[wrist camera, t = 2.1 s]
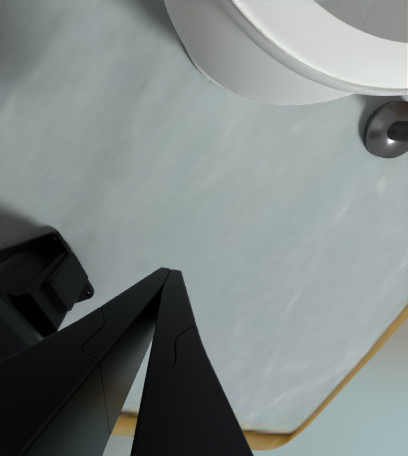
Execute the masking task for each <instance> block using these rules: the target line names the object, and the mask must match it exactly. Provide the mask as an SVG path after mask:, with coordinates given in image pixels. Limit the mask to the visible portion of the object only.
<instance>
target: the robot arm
mask: <svg viewBox="0 0 408 456" xmlns="http://www.w3.org/2000/svg"><path fill="white" fill-rule="evenodd" d="M52 236H53V237H55V238H56V240H53V239H52ZM86 291H88V292H89V294H88V293H86ZM93 294H94V289H93V287H92V285H91V284H90V282H89V281H88V276H87V274H86V273H85V271H84V269H83V268H82V266H81V264H80V263H79V261H78V259H77V258H76V256H75V254H74V253H72V252H71V251H70V249H69V248H68V246H67V244H66V243H65V241H64V239H63V238H62V236H61V235H60V234H59V233H58V232H55V231H53V232H50V233H47V234H44V235H41V236H38V237H35V238H32V239H29V240H27V241H24V242H21V243H18V244H15V245H12V246H9V247H7V248H4V249H1V250H0V456H102V455H103V452H104V449H105V447H106V444H107V442H108V440H109V437H110V435H111V433H112V430H113V428H114V426H115V423H116V421H117V419H118V416H119V414H120V412H121V409H122V407H123V405H124V403H125V400H126V398H127V396H128V393H129V391H130V389H131V386H132V384H133V382H134V379H135V377H136V375H137V372H138V370H139V368H140V365H141V363H142V361H143V359H144V356H145V354H146V352H147V349H148V347H149V345H150V342H151V340H152V338H153V341H152V346H151V351H150V357H149V362H148V367H147V373H146V377H145V382H144V388H143V393H142V398H141V403H140V408H139V414H138V419H137V424H136V429H135V435H134V440H133V445H132V450H131V455H130V456H253V453H252V451H251V449H250V447H249V445H248V442H247V440H246V438H245V436H244V434H243V432H242V429H241V427H240V425H239V423H238V421H237V419H236V416H235V414H234V412H233V410H232V408H231V406H230V404H229V401H228V399H227V397H226V395H225V393H224V391H223V388H222V386H221V384H220V382H219V380H218V378H217V375H216V373H215V371H214V369H213V367H212V365H211V363H210V360H209V358H208V356H207V354H206V351H205V349H204V346H203V344H202V341H201V338H200V335H199V332H198V328H197V326H196V322H195V318H194V315H193V311H192V308H191V304H190V301H189V297H188V294H187V290H186V286H185V283H184V279H183V276H182V272H181V271H179V270H174V269H172V270H170V269H169V268H163V267H161V268H159V269H158V270H156V271H155V272H153V273H152V274H150V275H148V276H147V277H145V278H144V279H142V280H141V281H139V282H138V283H136V284H135V285H133V286H132V287H130V288H129V289H127V290H125V291H124V292H122V293H121V294H119V295H118V296H116V297H115V298H113V299H112V300H110V301H109V302H107V303H105V304H104V305H102V306H101V307H99V308H97V309H96V310H94V311H93V312H91V313H89V314H88V315H86V316H85V317H83V318H81V319H80V320H78V321H76V322H74V323H72V324H71V325H69V326H67V327H65V328H63V329H61V330H60V331H58V329H59V327H60V325H61V323H62V322H63V320H64V318H65V316H66V314H67V312H68V311H71V310H72V308H73V306H74V304H75V303H78V302H81V301H84V300H86V299H89V298H91V297H92V296H93ZM57 331H58V332H57ZM153 335H154V336H153Z"/></svg>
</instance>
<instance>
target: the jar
mask: <svg viewBox="0 0 408 456" xmlns="http://www.w3.org/2000/svg"><path fill="white" fill-rule="evenodd" d="M164 3H165V6H166V9H167V11H168V14H169V16H170V19H171V21H172V23H173V26H174V28H175V30H176V32H177V34H178V36H179V38H180V39H181V41H182V43H183V44H184V46H185V48H186V50H187V53H188V55H189V56H190V58H191V60H192V62H193V63H194V65H195V66H196V67H197V68H198V70H199V71H200V72H201V73H202V74H203V75H204V76H205V77H206V78H207V79H209V80H210V81H211V82H213V83H214V84H216V85H218V86H220V87H222V88H224V89H227V90H230V91H232V92H234V93H236V94H238V95H240V96H243V97H246V98H248V99H252V100H255V101H259V102H264V103H269V104H278V105H303V104H313V103H319V102H325V101H330V100H334V99H338V98H342V97H346V96H349V95H353V94H364V95H374V96H396V95H408V0H164Z"/></svg>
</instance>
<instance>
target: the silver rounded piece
mask: <svg viewBox="0 0 408 456" xmlns="http://www.w3.org/2000/svg"><path fill="white" fill-rule="evenodd" d="M363 138H364V144H365V147H366V149H367V150H368V151H369V152H370V153H371V154H373V155H375V156H378V157H383V158H395V157H398V156H400V155H402V154H404V153H405V152H407V151H408V102H407V101H399V102H390V103H387V104H384V105H382V106H381V107H379V108H378V109H377V110H376V111H375V112H374V113H373V114H372V115H371V116H370V118H369V119H368V121H367V123H366V126H365V129H364V135H363Z"/></svg>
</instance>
